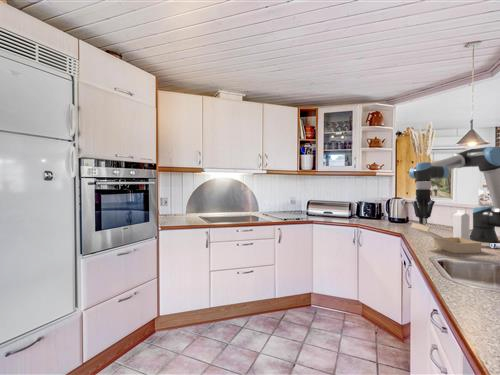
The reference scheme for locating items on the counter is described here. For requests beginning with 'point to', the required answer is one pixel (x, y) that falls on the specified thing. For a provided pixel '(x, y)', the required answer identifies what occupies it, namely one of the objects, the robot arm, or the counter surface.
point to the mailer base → (458, 245)
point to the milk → (461, 224)
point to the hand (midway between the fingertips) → (422, 229)
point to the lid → (426, 231)
